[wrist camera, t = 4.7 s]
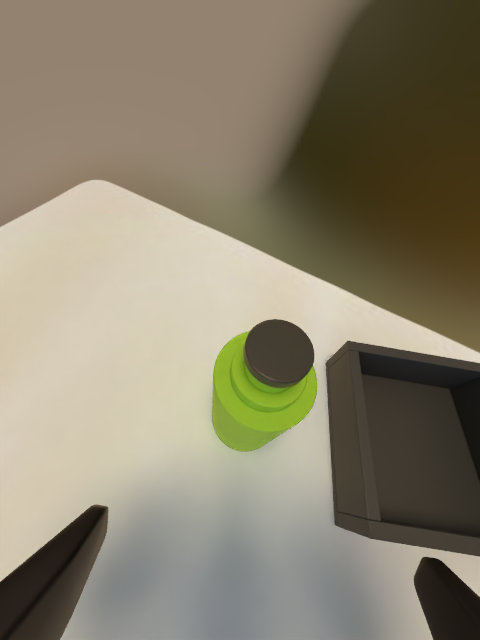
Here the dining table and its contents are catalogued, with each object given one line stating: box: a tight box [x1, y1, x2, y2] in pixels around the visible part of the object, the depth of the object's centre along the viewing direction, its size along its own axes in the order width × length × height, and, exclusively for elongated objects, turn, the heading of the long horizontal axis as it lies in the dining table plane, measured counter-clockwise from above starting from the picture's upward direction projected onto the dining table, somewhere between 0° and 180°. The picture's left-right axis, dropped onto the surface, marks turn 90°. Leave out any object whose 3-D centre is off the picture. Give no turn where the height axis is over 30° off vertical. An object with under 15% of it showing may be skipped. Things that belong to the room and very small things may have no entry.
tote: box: [326, 341, 480, 556], centre depth 19 cm, size 12×12×4 cm
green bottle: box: [212, 319, 317, 451], centre depth 15 cm, size 5×5×12 cm
